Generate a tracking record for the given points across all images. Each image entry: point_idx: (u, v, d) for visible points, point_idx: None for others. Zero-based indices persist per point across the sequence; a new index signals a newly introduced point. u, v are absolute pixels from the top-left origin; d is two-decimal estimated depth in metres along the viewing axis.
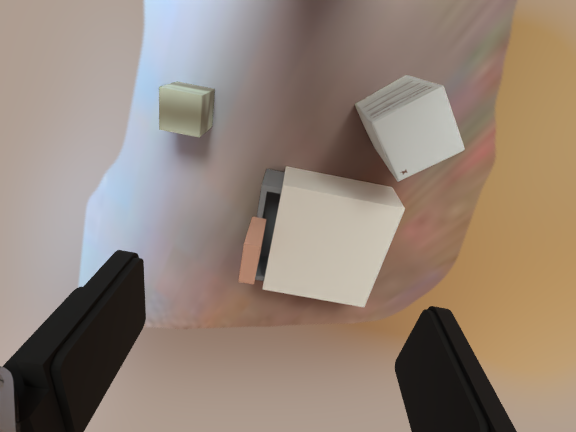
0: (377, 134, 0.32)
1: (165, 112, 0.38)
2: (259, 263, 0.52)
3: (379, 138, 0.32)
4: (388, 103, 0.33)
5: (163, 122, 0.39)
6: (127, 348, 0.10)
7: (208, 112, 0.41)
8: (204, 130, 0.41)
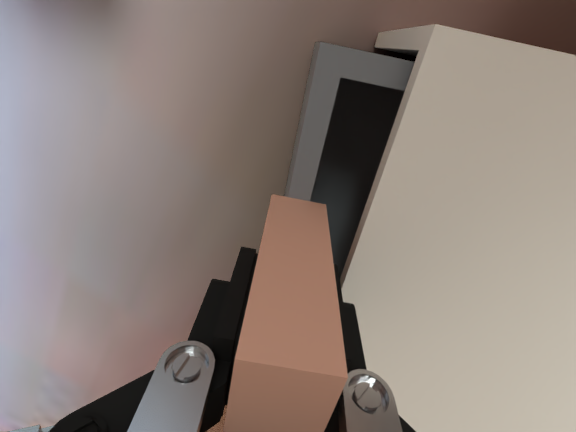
0: None
1: None
2: None
3: None
4: None
5: None
6: None
7: None
8: None
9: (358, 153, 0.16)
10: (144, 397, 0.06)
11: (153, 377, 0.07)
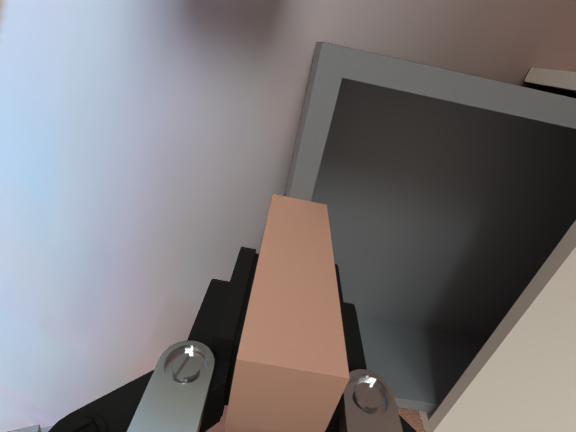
0: None
1: None
2: None
3: None
4: None
5: None
6: None
7: None
8: None
9: (359, 154, 0.16)
10: (144, 397, 0.06)
11: (153, 377, 0.07)
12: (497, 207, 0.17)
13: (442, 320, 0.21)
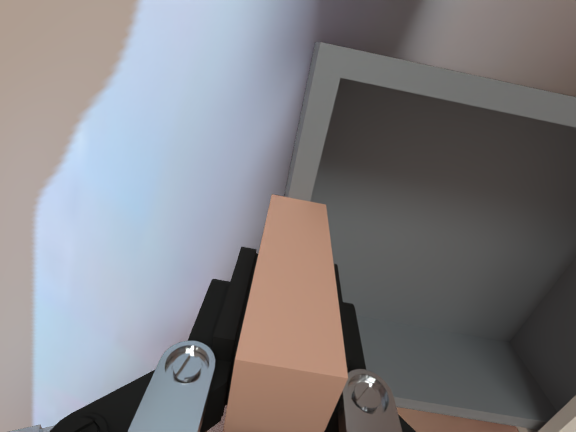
0: None
1: None
2: None
3: None
4: None
5: None
6: None
7: None
8: None
9: (358, 154, 0.16)
10: (145, 397, 0.06)
11: (154, 377, 0.07)
12: (497, 205, 0.17)
13: (443, 320, 0.21)
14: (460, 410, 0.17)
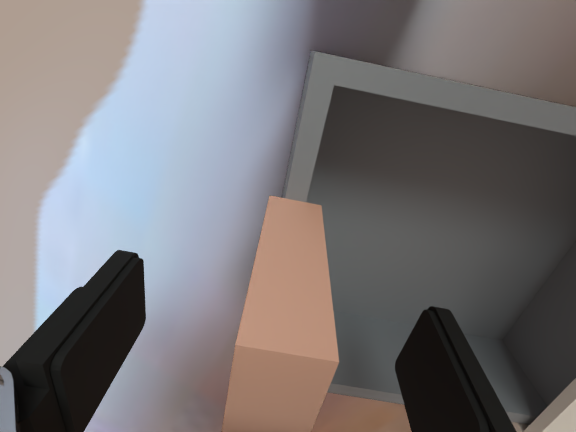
0: None
1: None
2: None
3: None
4: None
5: None
6: (127, 348, 0.10)
7: None
8: None
9: (353, 157, 0.17)
10: None
11: None
12: (488, 207, 0.18)
13: None
14: None
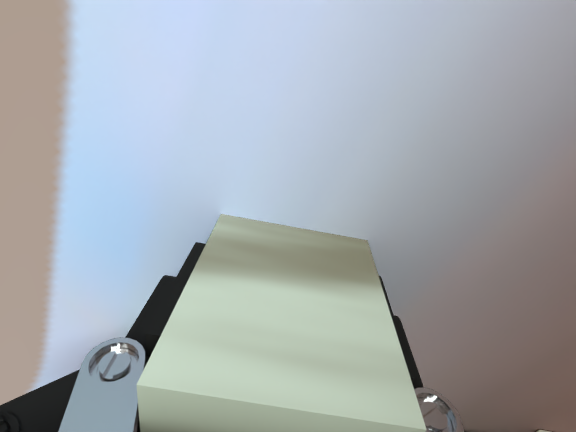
0: None
1: None
2: None
3: None
4: None
5: None
6: None
7: None
8: None
9: None
10: (70, 404, 0.06)
11: (77, 383, 0.06)
12: None
13: None
14: None
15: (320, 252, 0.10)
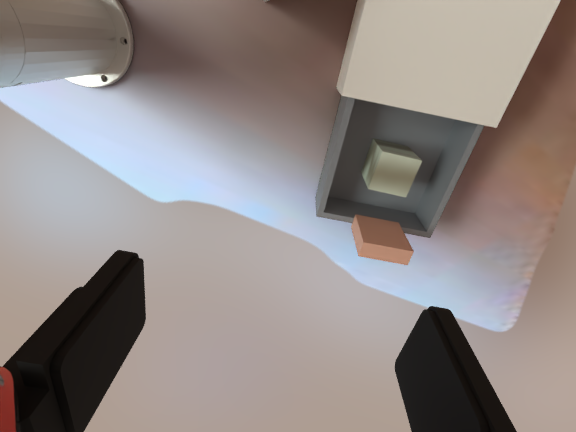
0: None
1: (379, 174, 0.39)
2: (421, 216, 0.46)
3: None
4: None
5: (374, 182, 0.40)
6: (127, 348, 0.10)
7: None
8: None
9: (350, 185, 0.46)
10: None
11: None
12: (376, 132, 0.43)
13: (439, 139, 0.43)
14: (463, 159, 0.38)
15: (398, 146, 0.42)
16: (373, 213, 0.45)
